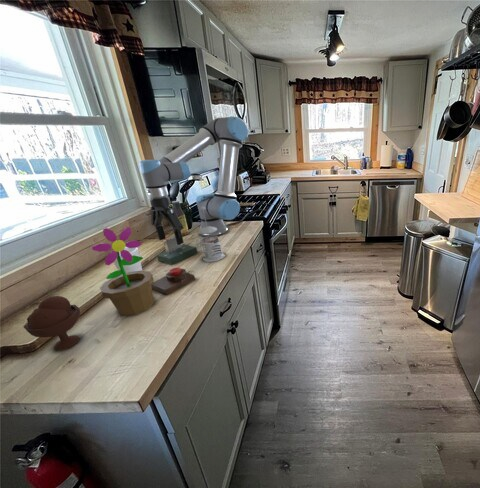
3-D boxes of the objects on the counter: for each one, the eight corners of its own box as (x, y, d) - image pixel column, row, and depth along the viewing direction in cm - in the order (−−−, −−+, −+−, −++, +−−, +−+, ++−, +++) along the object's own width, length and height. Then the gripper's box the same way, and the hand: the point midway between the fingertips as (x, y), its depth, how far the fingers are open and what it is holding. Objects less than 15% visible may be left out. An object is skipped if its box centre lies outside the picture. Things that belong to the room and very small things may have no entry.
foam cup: (152, 275, 109) (143, 247, 104) (131, 286, 101) (120, 257, 96) (136, 272, 112) (126, 245, 107) (115, 283, 104) (103, 254, 99)
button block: (179, 274, 110) (177, 266, 108) (195, 279, 105) (193, 270, 104) (151, 288, 100) (148, 279, 98) (167, 294, 96) (164, 285, 94)
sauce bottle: (184, 236, 151) (175, 203, 143) (175, 236, 152) (165, 203, 144) (191, 232, 157) (183, 200, 149) (182, 232, 158) (174, 200, 150)
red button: (177, 270, 105) (176, 266, 105) (184, 272, 103) (182, 268, 103) (168, 274, 102) (167, 271, 101) (174, 277, 100) (173, 273, 100)
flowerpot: (124, 325, 81) (86, 236, 69) (103, 312, 87) (64, 228, 75) (169, 300, 92) (142, 220, 80) (146, 290, 99) (119, 215, 87)
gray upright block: (179, 248, 127) (175, 235, 124) (182, 249, 126) (178, 235, 123) (167, 253, 122) (162, 239, 119) (169, 254, 121) (165, 240, 118)
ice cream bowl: (62, 331, 79) (39, 290, 73) (100, 328, 80) (81, 287, 74) (29, 359, 69) (-1, 314, 63) (73, 356, 70) (47, 311, 64)
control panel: (184, 249, 134) (182, 243, 133) (198, 252, 129) (196, 247, 128) (157, 260, 123) (155, 254, 121) (171, 264, 118) (169, 258, 117)
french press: (229, 254, 126) (219, 204, 116) (210, 265, 117) (197, 211, 107) (214, 251, 130) (203, 202, 120) (195, 261, 120) (181, 209, 110)
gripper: (134, 196, 116) (147, 240, 124) (168, 201, 105) (180, 248, 113) (151, 193, 122) (163, 234, 130) (185, 197, 111) (195, 242, 119)
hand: (171, 241), depth 122 cm, fingers open, 13 cm apart
